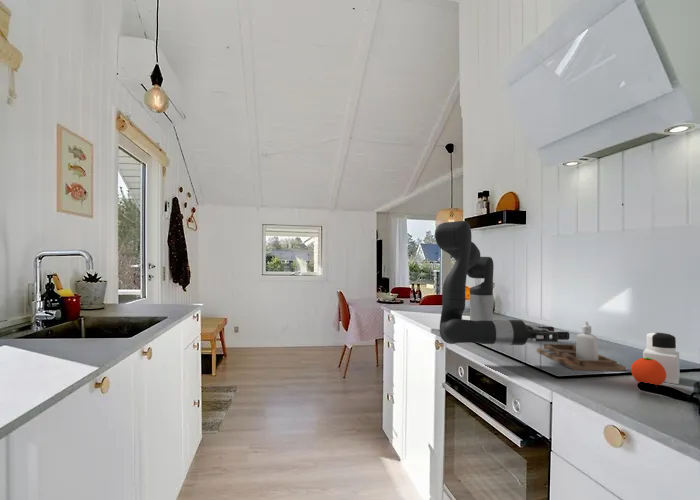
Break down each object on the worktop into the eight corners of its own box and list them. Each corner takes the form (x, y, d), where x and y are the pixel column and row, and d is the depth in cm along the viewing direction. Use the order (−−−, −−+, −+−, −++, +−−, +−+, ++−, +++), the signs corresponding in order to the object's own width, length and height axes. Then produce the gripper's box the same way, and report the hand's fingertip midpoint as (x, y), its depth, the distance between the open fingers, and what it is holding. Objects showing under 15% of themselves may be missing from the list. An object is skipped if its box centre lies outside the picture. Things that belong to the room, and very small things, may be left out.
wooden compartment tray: (536, 351, 129) (536, 344, 129) (580, 351, 129) (580, 344, 129) (572, 369, 107) (572, 361, 107) (625, 370, 107) (625, 361, 107)
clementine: (628, 378, 99) (628, 352, 99) (661, 383, 95) (661, 355, 96) (633, 387, 92) (633, 358, 92) (669, 392, 89) (669, 362, 89)
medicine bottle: (679, 378, 100) (678, 333, 100) (678, 384, 94) (677, 337, 95) (645, 372, 104) (645, 330, 105) (643, 378, 99) (642, 333, 100)
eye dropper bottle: (588, 359, 115) (587, 320, 116) (600, 364, 110) (599, 323, 110) (574, 359, 115) (573, 320, 115) (586, 364, 109) (585, 323, 110)
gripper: (517, 323, 106) (574, 324, 106) (498, 316, 121) (548, 317, 120) (517, 350, 106) (574, 350, 106) (498, 339, 120) (549, 340, 120)
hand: (560, 332), depth 113 cm, fingers open, 8 cm apart
